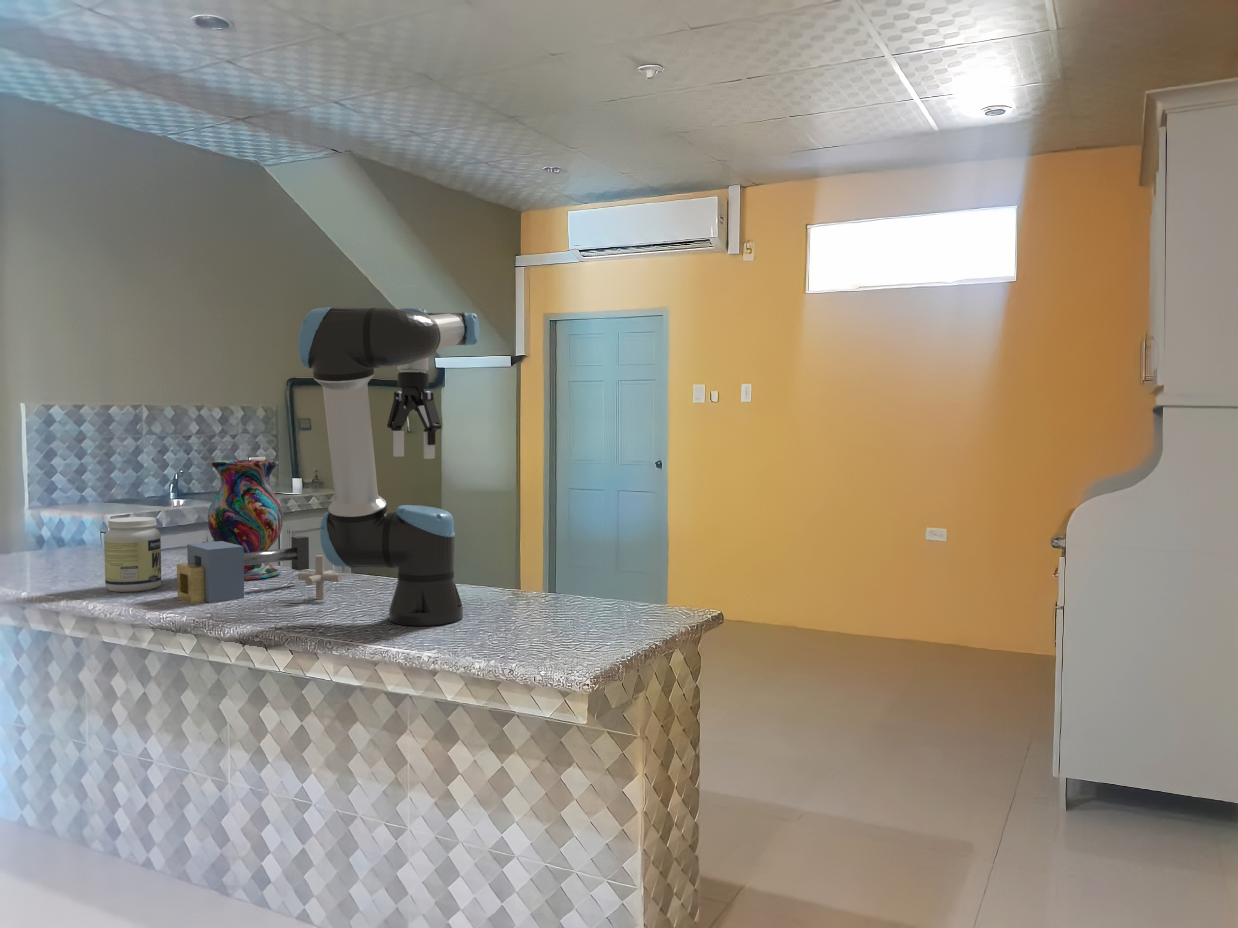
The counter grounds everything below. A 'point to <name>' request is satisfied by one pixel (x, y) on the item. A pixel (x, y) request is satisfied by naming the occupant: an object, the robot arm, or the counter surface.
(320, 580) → the pipe connector
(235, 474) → the vase
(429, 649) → the counter surface
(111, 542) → the supplement tub
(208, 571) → the pillow block
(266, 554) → the shaft
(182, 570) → the block
